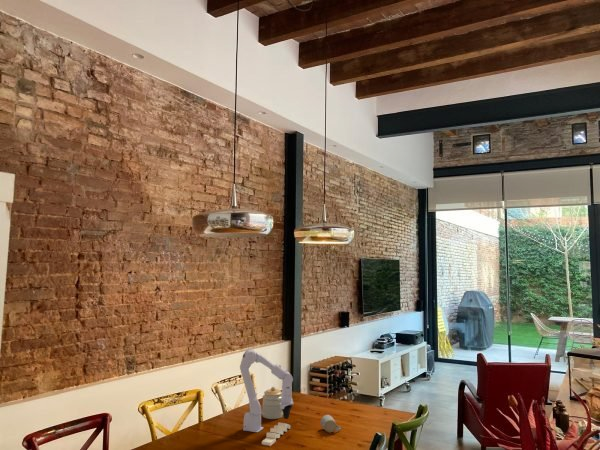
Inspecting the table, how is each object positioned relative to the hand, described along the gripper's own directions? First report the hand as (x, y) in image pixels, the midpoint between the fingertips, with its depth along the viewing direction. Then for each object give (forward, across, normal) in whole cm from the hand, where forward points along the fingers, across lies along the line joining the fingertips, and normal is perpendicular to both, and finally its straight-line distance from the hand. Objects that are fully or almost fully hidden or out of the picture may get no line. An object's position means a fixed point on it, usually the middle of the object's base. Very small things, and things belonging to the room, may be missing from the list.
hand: (286, 418), depth 264 cm
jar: (+5, +16, +16) cm, 23 cm away
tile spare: (+5, -21, 0) cm, 21 cm away
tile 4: (+4, -15, 0) cm, 16 cm away
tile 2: (+4, -5, 0) cm, 7 cm away
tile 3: (+4, -10, 0) cm, 11 cm away
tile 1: (+4, 0, 0) cm, 4 cm away
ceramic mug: (+6, +6, -25) cm, 26 cm away
